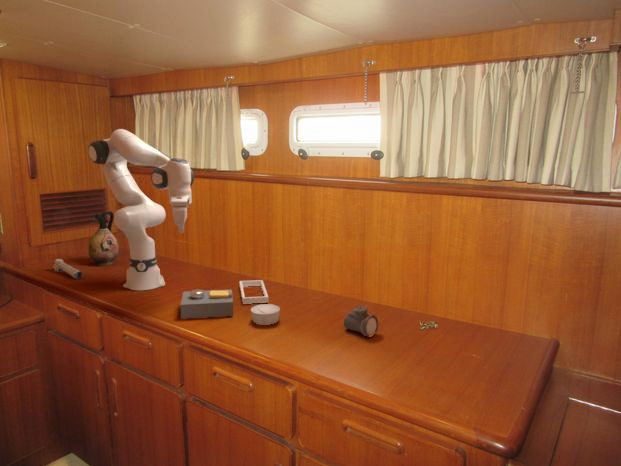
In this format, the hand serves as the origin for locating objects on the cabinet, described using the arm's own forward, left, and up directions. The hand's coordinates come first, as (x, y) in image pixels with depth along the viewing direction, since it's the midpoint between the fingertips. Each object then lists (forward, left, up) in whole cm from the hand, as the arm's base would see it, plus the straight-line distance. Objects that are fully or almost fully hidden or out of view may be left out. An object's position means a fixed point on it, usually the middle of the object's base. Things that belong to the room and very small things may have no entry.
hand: (181, 232), depth 182 cm
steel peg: (+9, +6, -31) cm, 33 cm away
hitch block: (+9, +10, -31) cm, 34 cm away
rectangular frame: (-8, +30, -31) cm, 44 cm away
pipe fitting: (+40, +65, -31) cm, 83 cm away
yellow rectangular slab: (+9, +15, -25) cm, 31 cm away
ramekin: (+24, +32, -32) cm, 51 cm away
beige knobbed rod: (-55, -61, -32) cm, 88 cm away
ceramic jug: (-74, -47, -31) cm, 93 cm away
